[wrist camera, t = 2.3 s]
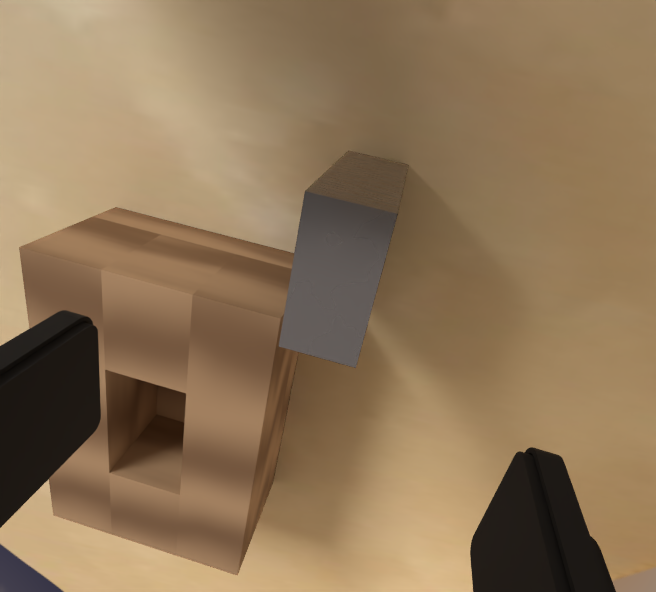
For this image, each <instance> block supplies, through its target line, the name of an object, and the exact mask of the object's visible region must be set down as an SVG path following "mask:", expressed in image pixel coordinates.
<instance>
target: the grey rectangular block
mask: <svg viewBox="0 0 656 592" xmlns="http://www.w3.org/2000/svg"><path fill="white" fill-rule="evenodd" d="M407 169H408V165H407V164H403V163H398V162H394V161H390V160H386V159H381V158H377V157H373V156H369V155H364V154H360V153H356V152H352V151H348V152H347V153H346V154H345V155H344V156H342V157H341V158H340V159H339V160H338V161H337V162H336V163H335V164H334V165H333V166H332V167H331V168H329V169H328V170H327V171H326V172H325V173H324V174H323V175H322V176H321V177H320V178H319V179H318V180H316V181H315V182H314V183H313V184H312V185H311V186H310V187H309V188H308V189H307V190H306V191H305V195H304V201H303V206H302V212H301V218H300V224H299V230H298V236H297V241H296V247H295V253H294V259H293V265H292V271H291V276H290V282H289V288H288V294H287V300H286V306H285V311H284V317H283V323H282V329H281V335H280V341H279V347H282V348H286V349H290V350H293V351H297V352H300V353H304V354H308V355H311V356H315V357H318V358H322V359H326V360H329V361H333V362H336V363H340V364H343V365H347V366H351V367H354V368H356V365H357V361H358V358H359V354H360V350H361V347H362V343H363V339H364V336H365V332H366V328H367V325H368V321H369V317H370V314H371V310H372V306H373V303H374V299H375V295H376V292H377V288H378V284H379V281H380V277H381V273H382V270H383V266H384V262H385V259H386V255H387V251H388V248H389V244H390V240H391V237H392V233H393V229H394V226H395V222H396V218H397V215H398V210H399V206H400V201H401V197H402V192H403V187H404V183H405V178H406V174H407Z"/></svg>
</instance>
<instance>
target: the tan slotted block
mask: <svg viewBox="0 0 656 592" xmlns="http://www.w3.org/2000/svg"><path fill="white" fill-rule="evenodd" d="M19 250H20V258H21V265H22V273H23V281H24V289H25V297H26V304H27V312H28V320H29V328H32V327H34V326H35V325H37V324H39V323H40V322H42V321H44V320H45V319H47V318H49V317H50V316H52V315H54V314H55V313H57V312H59V311H62V310H67V311H70V312H74V313H77V314H80V315H84V316H87V317H89V318H91V320H92V321H93V325H94V326H96V327H97V329H98V344H99V374H100V404H101V420H100V423H99V425H98V428H97V429H96V431H95V432H94V433H93V434H92V435H91V436H90V437H89V438H88V439H87V440H86V441H85V442H84V443H83V444H82V445H81V447H80V448H79V449H78V450H77V451H76V452H75V453H74V454H73V455H72V456H71V457H70V458H69V459H68V460H67V461H66V462H65V463H64V464H63V465H62V466H61V467H60V468H59V469H58V470H57V471H56V472H55V473H54V474H53V475H52V476H51V477H50V478H49V484H50V492H51V500H52V507H53V515H54V516H57V517H60V518H63V519H66V520H69V521H73V522H76V523H79V524H82V525H85V526H88V527H91V528H94V529H97V530H100V531H103V532H106V533H109V534H112V535H115V536H118V537H121V538H125V539H128V540H131V541H134V542H137V543H140V544H143V545H146V546H149V547H152V548H155V549H158V550H161V551H164V552H167V553H170V554H173V555H176V556H180V557H183V558H186V559H189V560H192V561H195V562H198V563H201V564H204V565H207V566H210V567H213V568H216V569H219V570H222V571H225V572H228V573H231V574H235V575H238V573H239V570H240V567H241V565H242V562H243V560H244V557H245V554H246V552H247V549H248V546H249V544H250V541H251V539H252V536H253V533H254V531H255V528H256V525H257V523H258V520H259V518H260V515H261V512H262V510H263V507H264V505H265V502H266V499H267V497H268V494H269V491H270V489H271V486H272V484H273V479H274V474H275V469H276V464H277V459H278V454H279V449H280V444H281V439H282V433H283V428H284V423H285V418H286V413H287V408H288V403H289V398H290V393H291V388H292V383H293V378H294V373H295V367H296V362H297V357H298V352H297V351H293V350H290V349H286V348H282V347H279V341H280V335H281V329H282V323H283V317H284V311H285V306H286V300H287V294H288V288H289V282H290V276H291V271H292V265H293V259H294V253H290V252H286V251H282V250H279V249H275V248H271V247H267V246H263V245H259V244H255V243H251V242H248V241H244V240H240V239H236V238H232V237H228V236H224V235H221V234H217V233H213V232H209V231H205V230H201V229H197V228H194V227H190V226H186V225H182V224H178V223H174V222H170V221H167V220H163V219H159V218H155V217H151V216H147V215H143V214H140V213H136V212H132V211H128V210H124V209H120V208H116V207H115V208H113V209H110V210H108V211H106V212H103V213H101V214H98V215H96V216H94V217H91V218H89V219H86V220H84V221H82V222H79V223H77V224H74V225H72V226H69V227H67V228H65V229H62V230H60V231H57V232H55V233H53V234H50V235H48V236H45V237H43V238H40V239H38V240H36V241H33V242H31V243H28V244H26V245H24V246H21V247H19Z"/></svg>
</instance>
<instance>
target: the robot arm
mask: <svg viewBox="0 0 656 592" xmlns="http://www.w3.org/2000/svg"><path fill="white" fill-rule="evenodd" d="M100 420H101V404H100V374H99V344H98V329H97V327H96V326H94V325H93V321H92V320H91V318H89V317H87V316H84V315H80V314H77V313H74V312H70V311H67V310H62V311H59V312H57V313H55V314H54V315H52V316H50V317H49V318H47V319H45V320H44V321H42V322H40V323H39V324H37V325H35V326H34V327H32V328H30V329H28V330H27V331H25V332H23V333H22V334H20V335H18V336H17V337H15V338H13V339H12V340H10V341H8V342H7V343H5V344H3V345H2V346H0V528H1V527H2V526H3V525H4V524H5V523H6V522H7V520H8V519H9V518H10V517H11V516H12V515H13V514H14V513H15V512H16V511H17V510H18V509H19V508H20V507H21V506H22V505H23V504H24V503H25V502H26V501H27V500H28V499H29V498H30V497H31V496H32V495H33V494H34V493H35V492H36V491H37V490H38V489H39V488H40V487H41V486H42V485H43V484H44V483H45V482H46V481H47V480H48V479H49V478H50V477H51V476H52V475H53V474H54V473H55V472H56V471H57V470H58V469H59V468H60V467H61V466H62V465H63V464H64V463H65V462H66V461H67V460H68V459H69V458H70V457H71V456H72V455H73V454H74V453H75V452H76V451H77V450H78V449H79V448H80V447H81V445H82V444H83V443H84V442H85V441H86V440H87V439H88V438H89V437H90V436H91V435H92V434H93V433H94V432H95V431H96V429H97V428H98V425H99V423H100ZM470 555H471V568H472V580H473V592H616V591H615V588H614V585H613V583H612V580H611V577H610V574H609V572H608V569H607V566H606V563H605V561H604V558H603V555H602V552H601V550H600V548H599V546H598V544H597V542H596V541H595V540H594V539H593V538H592V537H591V536H590V535H589V532H588V529H587V526H586V523H585V520H584V518H583V515H582V512H581V509H580V506H579V503H578V500H577V498H576V495H575V492H574V489H573V486H572V483H571V481H570V478H569V475H568V472H567V469H566V466H565V464H564V461H563V459H562V457H560V456H559V455H556V454H553V453H549V452H546V451H542V450H539V449H536V448H528V449H527V450H526V452H525V453H523V452H517V453H516V455H515V456H514V458H513V460H512V462H511V464H510V466H509V468H508V470H507V472H506V474H505V476H504V477H503V479H502V481H501V483H500V485H499V487H498V489H497V491H496V493H495V495H494V497H493V499H492V501H491V503H490V505H489V507H488V509H487V510H486V512H485V514H484V516H483V518H482V520H481V522H480V524H479V526H478V528H477V530H476V532H475V534H474V536H473V539H472V543H471V551H470Z"/></svg>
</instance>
